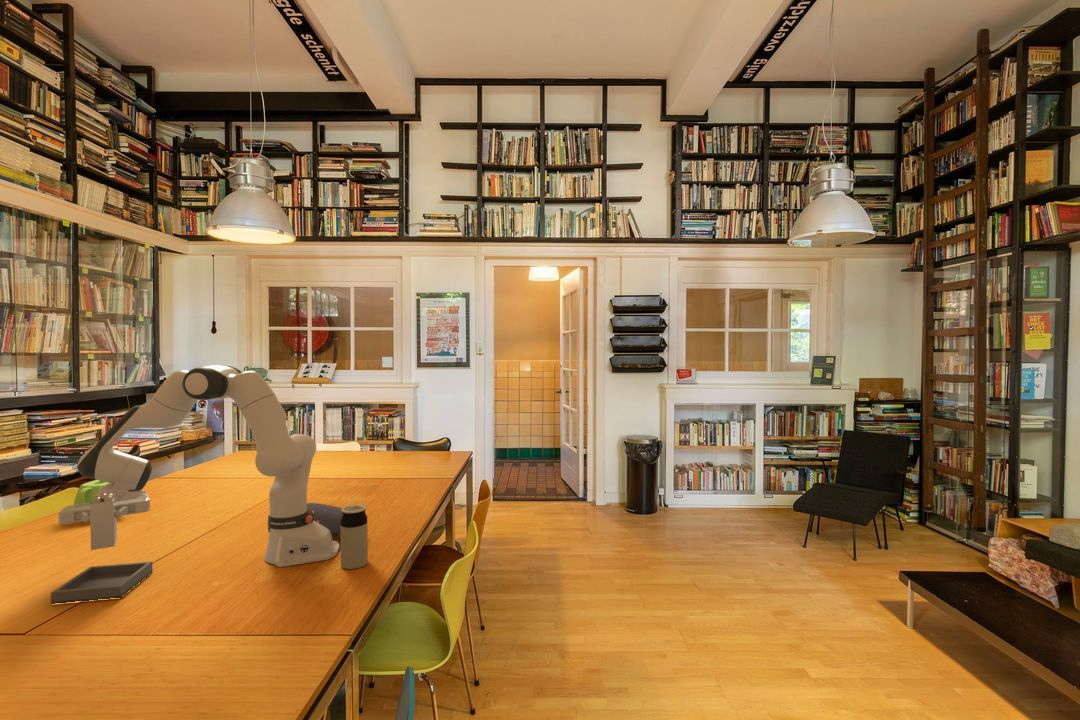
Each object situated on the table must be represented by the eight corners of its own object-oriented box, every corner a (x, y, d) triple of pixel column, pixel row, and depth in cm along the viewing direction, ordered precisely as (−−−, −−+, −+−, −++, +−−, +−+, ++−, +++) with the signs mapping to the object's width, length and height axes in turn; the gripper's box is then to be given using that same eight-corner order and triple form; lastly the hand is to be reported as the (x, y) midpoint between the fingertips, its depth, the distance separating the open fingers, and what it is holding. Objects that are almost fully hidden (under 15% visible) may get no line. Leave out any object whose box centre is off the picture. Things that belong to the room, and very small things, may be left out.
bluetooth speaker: (297, 531, 185) (296, 505, 185) (318, 523, 194) (318, 498, 193) (339, 543, 175) (339, 515, 174) (360, 534, 183) (360, 507, 183)
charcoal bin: (152, 572, 152) (152, 561, 152) (121, 599, 136) (120, 586, 136) (90, 578, 148) (90, 566, 148) (51, 605, 132) (50, 592, 132)
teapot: (114, 524, 193) (113, 483, 192) (59, 524, 193) (58, 483, 193) (164, 503, 218) (163, 467, 217) (115, 503, 218) (114, 467, 218)
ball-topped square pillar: (116, 540, 145) (115, 490, 145) (114, 546, 141) (113, 494, 141) (94, 544, 142) (92, 493, 142) (91, 550, 138) (89, 497, 138)
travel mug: (358, 571, 153) (358, 513, 153) (335, 568, 155) (334, 511, 154) (372, 560, 161) (372, 504, 160) (350, 558, 162) (349, 503, 162)
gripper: (63, 499, 146) (52, 512, 135) (151, 488, 158) (148, 499, 146) (63, 520, 146) (52, 535, 135) (151, 508, 158) (148, 520, 147)
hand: (103, 516), depth 141 cm, fingers closed on ball-topped square pillar, 5 cm apart
